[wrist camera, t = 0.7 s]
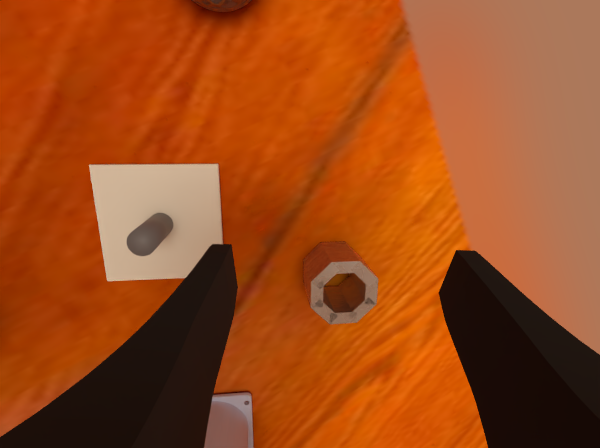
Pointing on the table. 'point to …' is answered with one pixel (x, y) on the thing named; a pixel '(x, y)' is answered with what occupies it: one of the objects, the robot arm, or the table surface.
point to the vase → (222, 4)
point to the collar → (350, 293)
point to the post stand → (156, 217)
